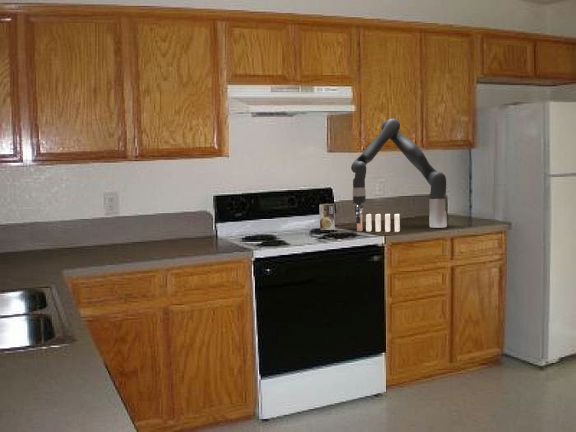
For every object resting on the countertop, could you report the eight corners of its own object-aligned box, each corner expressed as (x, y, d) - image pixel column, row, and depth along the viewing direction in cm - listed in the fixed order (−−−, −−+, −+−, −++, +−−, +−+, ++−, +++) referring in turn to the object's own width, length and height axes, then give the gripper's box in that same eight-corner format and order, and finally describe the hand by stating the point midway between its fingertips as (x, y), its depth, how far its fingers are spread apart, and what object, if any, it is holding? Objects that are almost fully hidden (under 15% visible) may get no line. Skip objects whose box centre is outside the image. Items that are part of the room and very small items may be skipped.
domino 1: (362, 230, 359) (362, 214, 358) (361, 231, 354) (360, 214, 353) (358, 230, 360) (358, 214, 359) (357, 231, 355) (356, 214, 354)
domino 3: (380, 231, 356) (380, 214, 355) (379, 231, 351) (379, 214, 350) (376, 231, 356) (376, 214, 356) (375, 231, 352) (375, 214, 351)
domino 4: (390, 231, 354) (390, 214, 353) (389, 231, 349) (389, 214, 349) (386, 231, 355) (386, 214, 354) (385, 231, 350) (384, 214, 349)
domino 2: (371, 230, 357) (371, 214, 357) (370, 231, 353) (370, 214, 352) (367, 230, 358) (367, 214, 357) (366, 231, 353) (365, 214, 353)
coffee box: (335, 229, 371) (334, 203, 370) (334, 230, 364) (334, 204, 363) (320, 230, 372) (319, 203, 370) (319, 231, 365) (319, 204, 364)
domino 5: (399, 231, 352) (399, 213, 352) (398, 231, 348) (398, 214, 347) (395, 231, 353) (395, 214, 352) (394, 231, 348) (394, 214, 348)
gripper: (355, 194, 363) (355, 221, 364) (350, 195, 350) (351, 223, 351) (367, 194, 361) (367, 221, 362) (363, 195, 347) (363, 223, 349)
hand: (359, 222), depth 356 cm, fingers open, 8 cm apart
